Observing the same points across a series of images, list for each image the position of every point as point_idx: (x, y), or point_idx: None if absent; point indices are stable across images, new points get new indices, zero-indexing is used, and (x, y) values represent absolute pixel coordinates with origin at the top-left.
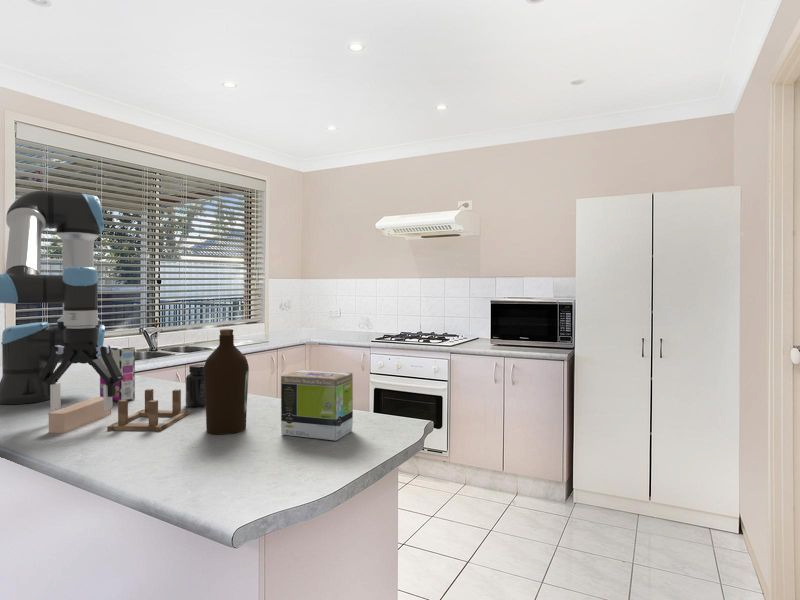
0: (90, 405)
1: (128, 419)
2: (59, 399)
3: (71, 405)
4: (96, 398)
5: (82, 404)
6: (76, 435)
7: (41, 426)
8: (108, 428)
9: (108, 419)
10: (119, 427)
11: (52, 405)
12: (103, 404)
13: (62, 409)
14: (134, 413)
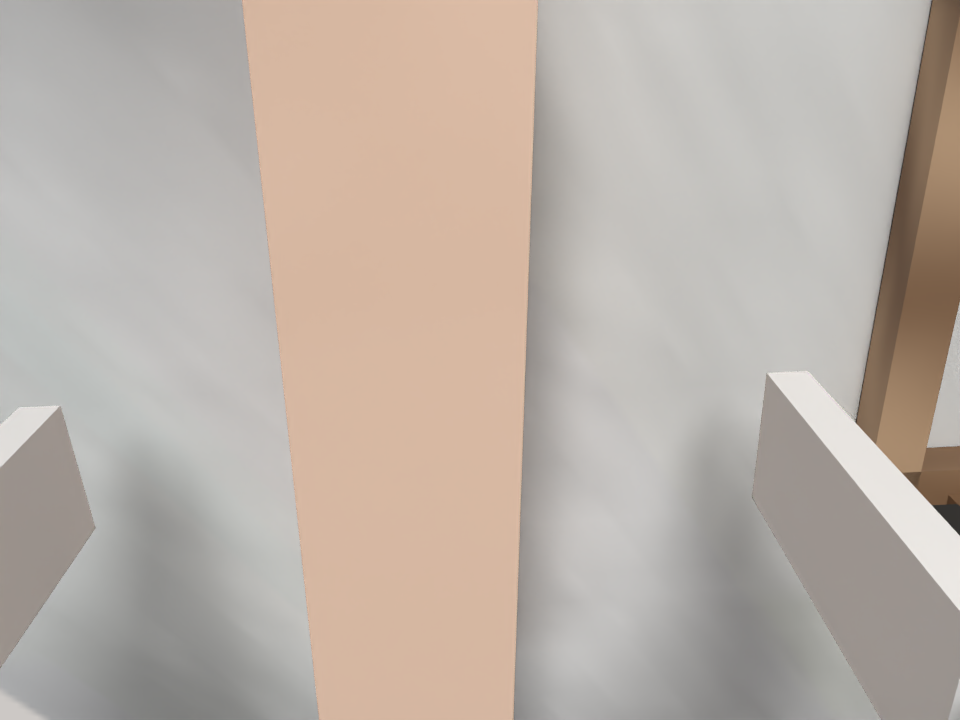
0: (522, 442)
1: (949, 311)
2: (3, 492)
3: (298, 525)
4: (334, 44)
5: (407, 461)
6: (637, 689)
7: (110, 511)
8: None
9: (635, 196)
10: None
11: (56, 568)
12: (781, 546)
13: (351, 694)
14: (952, 64)
